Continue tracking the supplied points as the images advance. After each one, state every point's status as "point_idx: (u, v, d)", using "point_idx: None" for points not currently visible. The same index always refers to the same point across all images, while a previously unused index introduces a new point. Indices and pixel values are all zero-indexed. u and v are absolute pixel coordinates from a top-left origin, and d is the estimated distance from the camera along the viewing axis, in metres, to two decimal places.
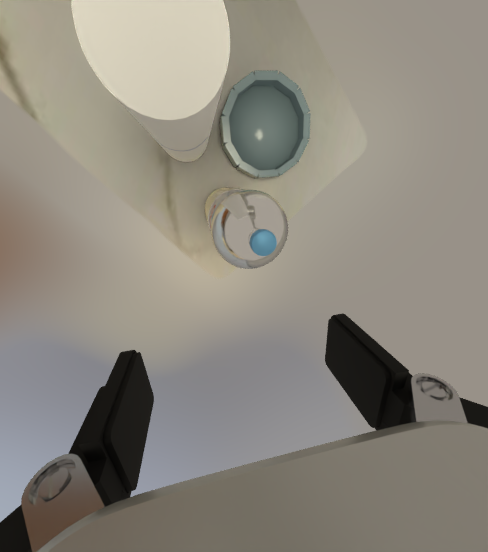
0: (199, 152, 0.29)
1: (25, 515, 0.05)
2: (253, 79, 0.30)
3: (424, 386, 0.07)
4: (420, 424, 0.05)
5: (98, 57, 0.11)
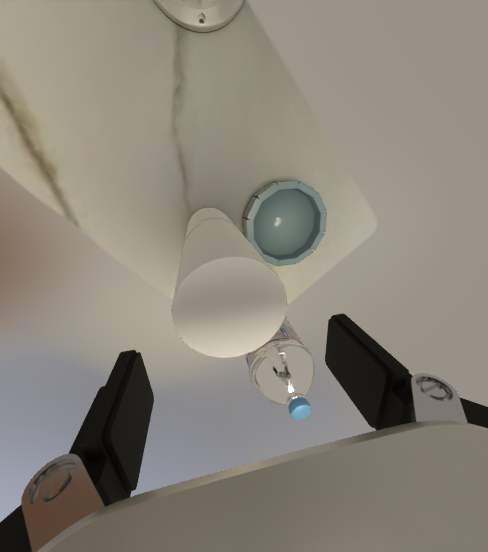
0: None
1: (25, 515, 0.05)
2: (276, 189, 0.33)
3: (424, 386, 0.07)
4: (420, 424, 0.05)
5: (187, 332, 0.14)
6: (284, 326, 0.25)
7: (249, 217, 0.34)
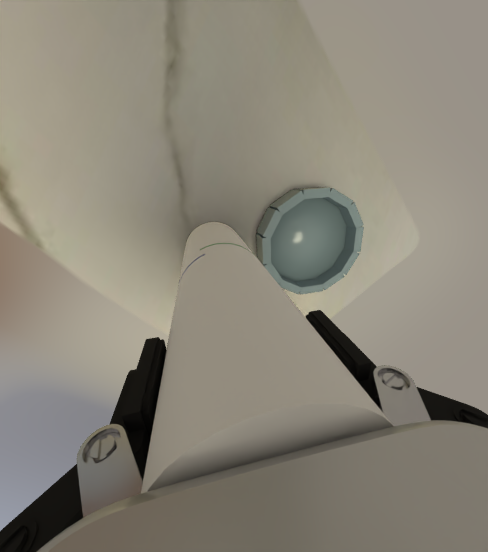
0: None
1: (82, 472, 0.06)
2: (301, 198, 0.25)
3: (385, 378, 0.08)
4: (420, 424, 0.05)
5: None
6: None
7: (265, 235, 0.26)
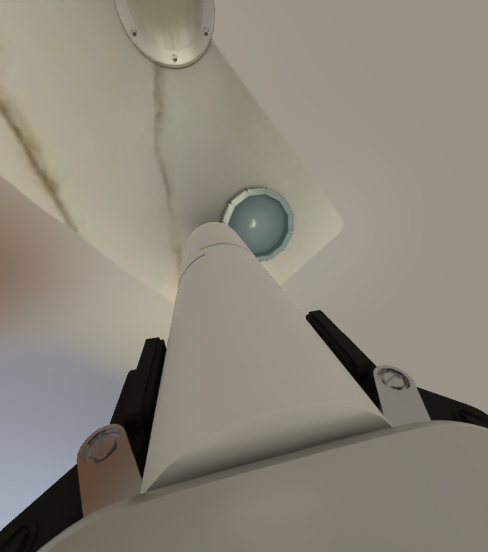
0: None
1: (82, 472, 0.06)
2: (246, 195, 0.38)
3: (385, 378, 0.08)
4: (420, 424, 0.05)
5: None
6: None
7: (224, 220, 0.39)
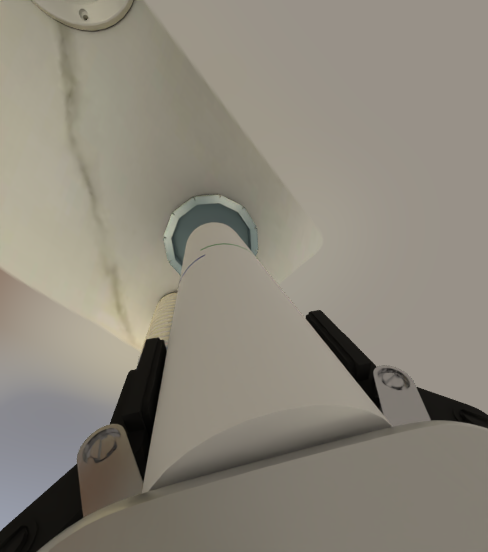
0: None
1: (82, 472, 0.06)
2: (193, 204, 0.30)
3: (385, 378, 0.08)
4: (420, 424, 0.05)
5: None
6: None
7: (166, 235, 0.30)
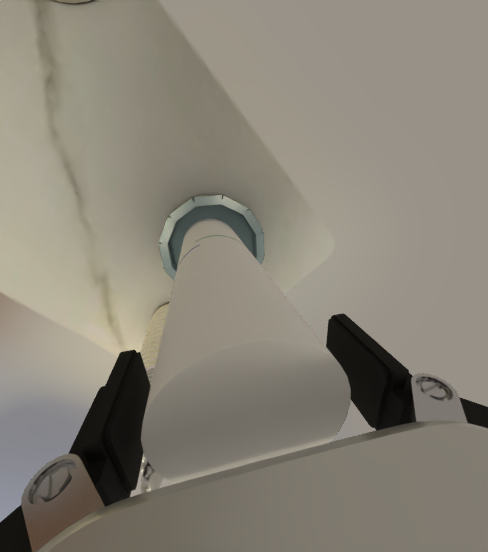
0: None
1: (25, 515, 0.05)
2: (192, 206, 0.26)
3: (424, 386, 0.07)
4: (420, 424, 0.05)
5: (172, 466, 0.08)
6: None
7: (161, 240, 0.27)
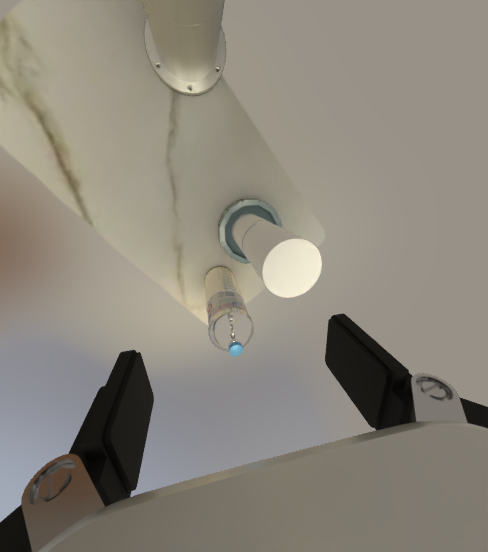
0: None
1: (25, 515, 0.05)
2: (242, 205, 0.45)
3: (424, 386, 0.07)
4: (420, 424, 0.05)
5: (268, 279, 0.26)
6: (236, 301, 0.36)
7: (221, 225, 0.45)
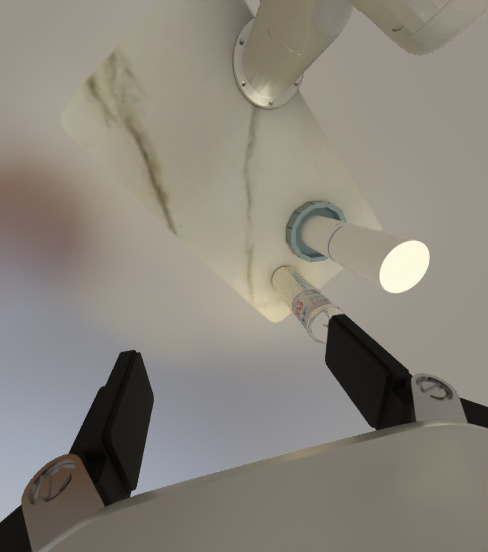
0: None
1: (25, 515, 0.05)
2: (312, 208, 0.48)
3: (424, 386, 0.07)
4: (420, 424, 0.05)
5: (383, 277, 0.29)
6: (325, 298, 0.40)
7: (293, 227, 0.49)
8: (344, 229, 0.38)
